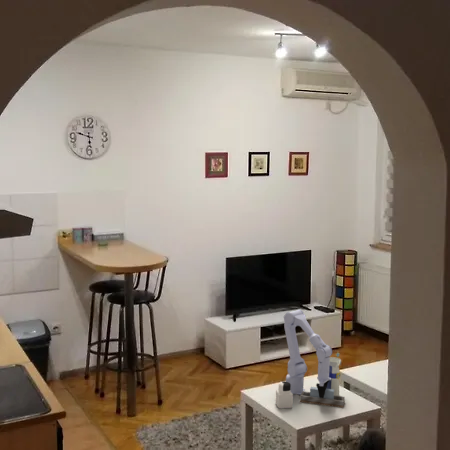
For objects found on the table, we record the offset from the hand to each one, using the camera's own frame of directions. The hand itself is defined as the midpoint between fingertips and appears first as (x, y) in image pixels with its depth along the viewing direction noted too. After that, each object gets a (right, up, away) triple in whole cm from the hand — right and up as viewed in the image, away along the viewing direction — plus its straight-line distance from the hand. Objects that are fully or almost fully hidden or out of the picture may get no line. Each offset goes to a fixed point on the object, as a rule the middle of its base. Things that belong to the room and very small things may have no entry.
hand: (322, 394), depth 315 cm
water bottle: (+7, -3, +10) cm, 13 cm away
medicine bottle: (-20, -4, -5) cm, 21 cm away
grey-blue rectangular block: (0, -3, 0) cm, 3 cm away
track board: (0, -4, 0) cm, 4 cm away
